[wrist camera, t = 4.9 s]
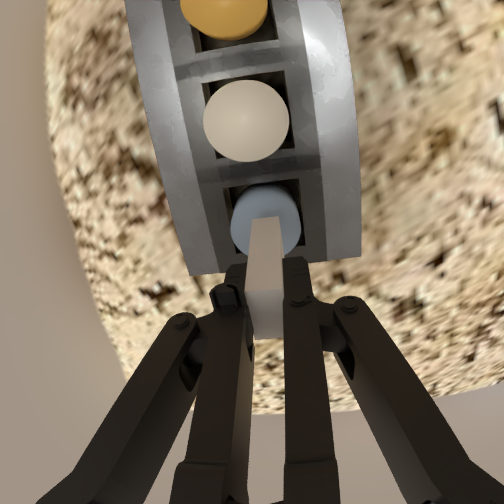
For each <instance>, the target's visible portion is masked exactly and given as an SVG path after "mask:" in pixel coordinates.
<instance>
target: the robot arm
mask: <svg viewBox="0 0 504 504" xmlns="http://www.w3.org/2000/svg"><path fill="white" fill-rule="evenodd" d="M209 295H210V298H211V301H212V305H213V308H214V310H213V312H212V313H210V314H208V315H206V316H203V317H199V318H196V317H195V316H194V315H193V314H192V313H188V312H182V313H178V314H176V315H174V316H172V317H171V318H170V319H169V320H168V321H167V323H166V324H165V326H164V327H163V329H162V330H161V332H160V333H159V335H158V336H157V338H156V339H155V341H154V342H153V344H152V345H151V347H150V349H149V350H148V352H147V353H146V355H145V356H144V358H143V359H142V361H141V362H140V364H139V365H138V367H137V369H136V370H135V372H134V373H133V375H132V376H131V378H130V379H129V381H128V383H127V384H126V386H125V387H124V389H123V390H122V392H121V394H120V395H119V397H118V398H117V400H116V402H115V403H114V405H113V406H112V408H111V410H110V411H109V413H108V414H107V416H106V417H105V419H104V421H103V422H102V424H101V425H100V427H99V429H98V430H97V432H96V434H95V435H94V437H93V438H92V440H91V442H90V443H89V445H88V447H87V448H86V450H85V451H84V453H83V455H82V456H81V458H80V460H79V461H78V463H77V465H76V466H75V468H74V470H73V471H72V472H71V473H70V474H69V475H68V476H67V477H65V478H64V479H63V480H62V481H61V482H59V483H58V484H57V485H56V486H55V487H54V488H52V489H51V490H50V491H49V492H48V493H46V494H45V495H44V496H43V497H41V498H40V499H39V500H38V501H37V502H36V504H143V503H144V501H145V499H146V497H147V495H148V493H149V491H150V489H151V487H152V485H153V483H154V481H155V479H156V477H157V475H158V473H159V471H160V469H161V467H162V465H163V463H164V461H165V459H166V457H167V455H168V453H169V451H170V449H171V447H172V445H173V443H174V441H175V439H176V436H177V434H178V432H179V430H180V428H181V426H182V424H183V422H184V420H185V418H186V416H187V414H188V412H189V410H190V408H191V406H192V404H193V402H194V399H195V397H196V402H195V407H194V413H193V418H192V423H191V429H190V434H189V440H188V445H187V451H186V456H185V459H184V461H182V462H180V463H179V464H178V466H177V467H176V470H175V474H174V480H173V485H172V490H171V496H170V502H169V504H249V496H248V491H247V479H248V462H249V445H250V427H251V411H252V393H253V374H254V356H255V347H254V343H253V334H254V338H255V340H259V339H271V338H283V337H284V376H285V452H286V453H285V464H284V500H283V501H279V502H276V503H272V504H340V489H339V476H338V466H337V460H336V458H335V452H334V442H333V432H332V422H331V413H330V404H329V396H328V388H327V380H326V372H325V364H324V357H323V351H328V352H333V354H334V357H335V359H336V361H337V363H338V365H339V367H340V368H341V370H342V372H343V374H344V376H345V378H346V380H347V382H348V384H349V386H350V388H351V390H352V392H353V394H354V396H355V398H356V400H357V402H358V404H359V406H360V408H361V410H362V412H363V414H364V416H365V418H366V420H367V422H368V424H369V426H370V428H371V430H372V432H373V435H374V436H375V439H376V441H377V443H378V445H379V447H380V449H381V451H382V453H383V455H384V457H385V459H386V461H387V463H388V466H389V468H390V470H391V472H392V474H393V476H394V478H395V480H396V482H397V484H398V487H399V489H400V491H401V493H402V495H403V497H404V498H405V500H406V502H407V504H504V485H502V484H501V483H500V482H498V481H497V480H496V479H494V478H493V477H492V476H490V475H489V474H488V473H486V472H485V471H484V470H483V469H481V468H480V467H479V466H477V465H476V464H475V463H473V462H472V461H471V460H470V459H469V457H468V455H467V454H466V452H465V450H464V449H463V447H462V445H461V444H460V442H459V441H458V439H457V437H456V436H455V434H454V432H453V431H452V429H451V427H450V426H449V425H448V423H447V421H446V420H445V418H444V416H443V415H442V413H441V412H440V410H439V409H438V407H437V406H436V404H435V402H434V401H433V399H432V398H431V396H430V395H429V393H428V392H427V390H426V389H425V387H424V386H423V384H422V383H421V381H420V380H419V378H418V377H417V375H416V374H415V372H414V371H413V369H412V368H411V366H410V365H409V363H408V362H407V360H406V359H405V357H404V356H403V355H402V353H401V352H400V350H399V349H398V347H397V346H396V345H395V343H394V342H393V340H392V339H391V337H390V336H389V335H388V333H387V332H386V330H385V329H384V328H383V326H382V325H381V323H380V322H379V321H378V319H377V318H376V317H375V315H374V314H373V312H372V311H371V310H370V308H369V307H368V306H367V304H366V303H365V302H364V301H363V300H362V299H361V298H359V297H356V296H344V297H341V298H339V299H337V300H336V301H335V302H334V304H329V303H324V302H321V301H319V300H318V299H316V298H315V297H314V295H313V291H312V285H311V279H310V273H309V267H308V262H307V260H306V259H305V258H304V257H303V256H298V257H289V258H284V252H283V244H282V237H281V229H280V222H279V216H275V217H266V218H258V219H252V226H251V235H250V244H249V253H248V263H241V264H232V265H231V266H230V267H229V268H228V269H227V271H226V275H225V280H224V283H222V284H219V285H217V286H215V287H214V288H213V289H211V291H210V293H209ZM196 395H197V396H196Z"/></svg>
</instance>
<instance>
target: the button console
mask: <svg viewBox="0 0 504 504" xmlns="http://www.w3.org/2000/svg"><path fill="white" fill-rule="evenodd" d="M124 1H125V7H126V14H127V20H128V26H129V32H130V37H131V43H132V48H133V54H134V59H135V64H136V69H137V74H138V79H139V84H140V89H141V94H142V98H143V103H144V107H145V112H146V116H147V121H148V125H149V129H150V133H151V138H152V142H153V146H154V150H155V154H156V158H157V162H158V166H159V170H160V174H161V178H162V181H163V185H164V189H165V193H166V196H167V200H168V204H169V207H170V211H171V214H172V218H173V221H174V225H175V228H176V232H177V235H178V239H179V242H180V245H181V249H182V252H183V255H184V259H185V262H186V265H187V268H188V272H189V275H190V276H194V275H203V274H213V273H226V271H227V269H228V268H229V267H230V266H231V265H232V264H241V263H248V255H246V254H244V253H243V252H242V251H240V250H239V249H238V247H237V246H236V245H235V243H234V241H233V239H232V236H231V231H230V226H231V220H232V216H233V208H232V203H231V198H230V193H229V188H228V187H235V186H242V185H249V184H256V183H264V182H271V181H279V180H287V179H296V178H297V183H298V192H299V201H300V211H301V220H302V229H301V233H300V237H299V240H298V242H297V244H296V245H295V247H294V248H293V249H292V250H291V251H290V252H289V253H287V254H286V255H284V258H289V257H298V256H303V257H304V258H305V259H306V260H307V262H308V263H315V262H323V261H327V260H336V259H344V258H352V257H360V256H361V182H360V160H359V144H358V130H357V118H356V107H355V97H354V88H353V80H352V72H351V64H350V57H349V50H348V44H347V37H346V31H345V26H344V20H343V15H342V9H341V4H340V0H269V1H270V6H271V11H272V16H273V22H274V27H275V33H276V38H277V40H270V41H262V42H255V43H248V44H242V45H236V46H230V47H225V48H219V49H214V50H209V51H205V52H202V49H201V43H200V38H199V33H198V29H197V28H195V27H194V26H193V25H191V24H190V23H189V22H188V21H187V19H186V18H185V16H184V15H183V13H182V10H181V6H180V0H124ZM280 71H282V74H283V80H284V87H285V93H286V100H287V107H288V113H289V121H290V128H291V135H292V141H288V142H283V143H282V144H281V146H280V147H279V148H278V149H277V150H276V151H275V152H274V153H272V154H271V155H269V156H267V157H265V158H263V159H260V160H257V161H252V162H241V161H235V160H232V159H229V158H227V157H225V156H223V155H222V154H220V153H219V152H218V151H217V150H216V149H215V148H214V147H213V146H212V145H211V144H210V142H209V140H208V139H207V136H206V134H205V131H204V125H203V116H204V111H205V108H206V105H207V103H208V101H209V100H210V98H211V96H210V91H209V86H208V83H210V82H215V81H220V80H226V79H231V78H237V77H243V76H250V75H257V74H264V73H271V72H280Z"/></svg>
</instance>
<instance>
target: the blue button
mask: <svg viewBox="0 0 504 504" xmlns="http://www.w3.org/2000/svg"><path fill="white" fill-rule="evenodd" d="M275 216H279V222H280V229H281V237H282V244H283V252H284V255H286V254H287V253H289V252H290V251H291V250H292V249H293V248H294V247H295V245H296V244H297V242H298V240H299V237H300V233H301V224H300V219H299V214H298V210H297V205H296V202H295V199H294V197H293V195H292V194H291V193H290V192H289V191H288V190H287V189H286V188H285V187H283V186H282V185H280V184H277V183H275V182H274V181H271V182H264V183H256V184H252V185H250V186H248V187H246V188H245V189H244V190H243V191H242V192H241V193H240V195H239V196H238V198H237V200H236V203H235V207H234V212H233V216H232V220H231V226H230V231H231V236H232V239H233V241H234V243H235V245H236V246H237V247H238V249H239V250H240V251H242V252H243V253H244V254H246V255H248V253H249V244H250V235H251V226H252V219H258V218H266V217H275Z"/></svg>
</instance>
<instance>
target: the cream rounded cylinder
mask: <svg viewBox="0 0 504 504" xmlns="http://www.w3.org/2000/svg"><path fill="white" fill-rule="evenodd" d="M203 125H204V131H205V134H206V136H207V139H208V140H209V142H210V144H211V145H212V146H213V147H214V148H215V149H216V150H217V151H218V152H219V153H220V154H222V155H223V156H225V157H227V158H229V159H232V160H235V161H241V162H252V161H257V160H260V159H263V158H265V157H267V156H269V155H271V154H272V153H274V152H275V151H276V150H277V149H278V148H279V147H280V146H281V144H282V143H283V141H284V139H285V137H286V135H287V132H288V127H289V115H288V110H287V107H286V105H285V103H284V101H283V99H282V98H281V97H280V95H279V94H278V93H277V92H276V91H275V90H274V89H273V88H271V87H270V86H268V85H267V84H265V83H262V82H259V81H254V80H240V81H235V82H231V83H229V84H227V85H225V86H223V87H221V88H220V89H219V90H217V91H216V92H215V93H214V94H213V95H212V97H211V98H210V100H209V101H208V103H207V105H206V108H205V111H204V116H203Z"/></svg>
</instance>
